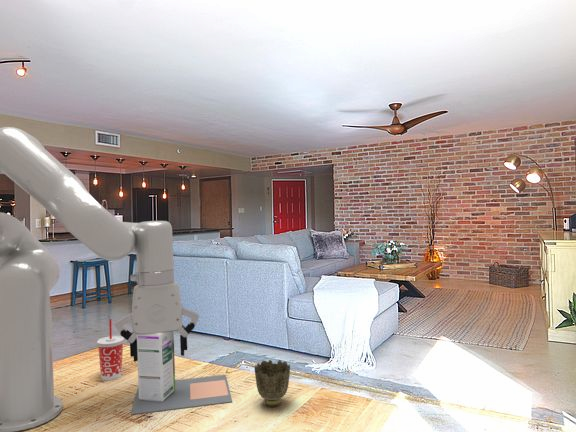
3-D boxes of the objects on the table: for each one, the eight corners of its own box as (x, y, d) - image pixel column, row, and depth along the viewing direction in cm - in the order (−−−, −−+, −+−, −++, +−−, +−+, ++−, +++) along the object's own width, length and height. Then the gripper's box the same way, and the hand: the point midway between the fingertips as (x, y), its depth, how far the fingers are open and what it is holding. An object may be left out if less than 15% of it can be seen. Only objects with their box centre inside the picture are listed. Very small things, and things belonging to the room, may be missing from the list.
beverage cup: (92, 381, 97) (91, 322, 96) (106, 370, 103) (105, 315, 102) (116, 382, 96) (115, 323, 96) (129, 371, 102) (128, 316, 102)
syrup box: (162, 402, 85) (161, 333, 85) (137, 400, 86) (136, 332, 86) (175, 390, 91) (174, 325, 90) (151, 388, 92) (150, 324, 92)
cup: (250, 411, 82) (250, 372, 81) (258, 394, 89) (258, 358, 89) (287, 414, 80) (287, 374, 80) (292, 396, 88) (292, 360, 88)
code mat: (130, 414, 81) (130, 413, 81) (138, 385, 94) (138, 384, 94) (232, 402, 86) (232, 401, 86) (225, 375, 99) (225, 374, 99)
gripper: (110, 284, 82) (114, 368, 83) (197, 277, 86) (201, 357, 87) (116, 278, 89) (119, 355, 90) (196, 272, 94) (199, 346, 94)
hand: (159, 356), depth 89 cm, fingers open, 9 cm apart
